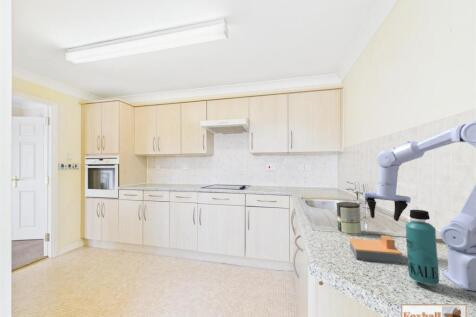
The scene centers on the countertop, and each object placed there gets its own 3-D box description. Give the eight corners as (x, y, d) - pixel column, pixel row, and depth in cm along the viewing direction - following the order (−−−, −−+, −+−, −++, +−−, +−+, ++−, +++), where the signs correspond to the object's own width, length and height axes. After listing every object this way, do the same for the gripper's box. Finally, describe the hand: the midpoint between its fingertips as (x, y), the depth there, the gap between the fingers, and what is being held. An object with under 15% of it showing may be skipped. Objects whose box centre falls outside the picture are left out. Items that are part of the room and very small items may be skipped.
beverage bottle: (424, 277, 59) (419, 207, 60) (448, 291, 53) (442, 212, 54) (402, 278, 59) (397, 208, 60) (423, 292, 52) (418, 212, 53)
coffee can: (333, 231, 104) (331, 203, 105) (348, 228, 108) (346, 201, 109) (350, 237, 95) (349, 206, 96) (366, 234, 99) (364, 204, 99)
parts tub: (401, 263, 68) (400, 254, 68) (356, 259, 72) (356, 250, 72) (388, 251, 78) (388, 243, 78) (350, 247, 82) (350, 240, 82)
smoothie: (431, 242, 86) (429, 208, 87) (413, 241, 87) (411, 208, 88) (421, 237, 92) (419, 205, 93) (404, 236, 93) (402, 205, 94)
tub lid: (402, 256, 68) (401, 243, 68) (355, 252, 72) (355, 240, 72) (388, 244, 79) (388, 233, 79) (349, 241, 83) (348, 230, 83)
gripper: (405, 183, 78) (402, 217, 79) (362, 179, 83) (359, 212, 84) (414, 186, 72) (410, 224, 73) (367, 183, 76) (364, 218, 77)
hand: (383, 218), depth 78 cm, fingers open, 7 cm apart
